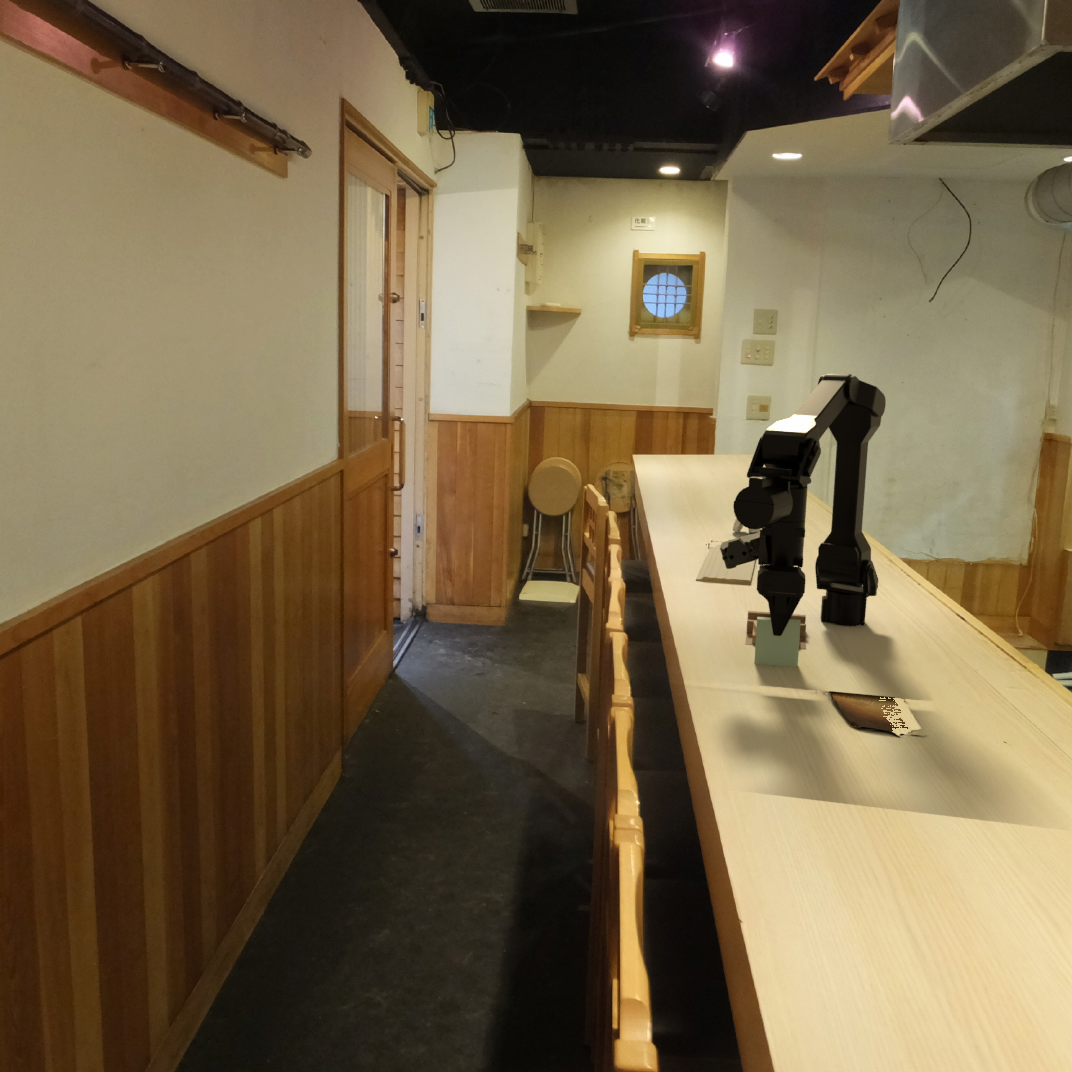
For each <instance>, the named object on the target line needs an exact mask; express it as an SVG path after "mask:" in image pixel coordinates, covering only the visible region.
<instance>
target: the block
mask: <svg viewBox="0 0 1072 1072" xmlns="http://www.w3.org/2000/svg"><path fill="white" fill-rule="evenodd" d="M800 623H801V622H800V620H793V619H790V620H789V622H788V624H787V626H786V628H785V629H784V631H783V633H782V635H781V636H774V635H773V631H772V624H771V618H767V617H757V628H756V645H754V647H755V649H754V664H755V665H756V664H758V665H769V666H780V667H781V666H782V667H792V668H798V667H799V666H798V663H799V652H800V649H799V638H800Z"/></svg>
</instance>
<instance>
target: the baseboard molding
mask: <svg viewBox="0 0 1072 1072" xmlns="http://www.w3.org/2000/svg"><path fill="white" fill-rule="evenodd" d="M710 541H711V543H713V542H718V541H714V540H710ZM711 543H710V542H709V543H706V544H705V546H708V547H707V548H708V549H709V550H708V552H707V554H706V556H705V558H704V560H703V563H702V565H701V567H700V569H699V572H698V574H697V577H696V578H695V581H696V582H711V583H723V584H724V583H725V584H737V585H751V582H752V577H753V572H754V567H755V564H756V560H755V561H752V562H748V563H744V564H741V565H737V566H736V567H735V568H731V569H727V568H726V566H725V563H724V560H723V559H722V553H721V550H720V546H721V544H717V545H715V546H710V545H711ZM707 544H708V545H707Z"/></svg>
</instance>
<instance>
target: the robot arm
mask: <svg viewBox="0 0 1072 1072" xmlns="http://www.w3.org/2000/svg"><path fill="white" fill-rule="evenodd" d="M885 409H886V396H885V394H884V393H883V392H882V391H881V390H880V389H879V387H877V386H876V385H872V384H871V383H869V382H865V381H862V380H860V378H858V377H857V376H855V375H852V374H850V373H826V374H823V375H822V374H821V375H820V377H819V379H818V382H817V386H816V387H815V388H814V389H813V390H812V392H810V394H809V395H808V396H807V398H806V399H805V400H804V401H803V402H802V404H801V405H800V406H799V407H798V409H797V410H796V411H795V412H794V413H793V415H792V416H790V417H788V418H784V419H782V420H777V421H776V422H774V423H773V424H772V425H770V426H769V427H768V428H767V429H766V430H764V433H763V434H762V435H761V436H760V437H759V440H758V442H757V446H756V448H755V451H754V453H753V456H752V459H751V461H750V465H749V467H748V469H747V472H746V478H747V479H748V486H746V487H745V488H742V489H741V490H739V492H738V493H737V494H736V497H735V499H734V501H733V513H734V516H735V519H736V518H737V520H738V521H739V522H740V523H741V524H742V525H743V527H745V528H747V529H748V528H749V529H760V532H759V533H755V534H750V535H749V534H747V535H743V536H740V537H737V538H733V539H728V540H725V541H722V542H721V543H720V545H721V546H720V550H721V553H722V559H723V560H724V563H725V566H726V568H727V569H731V568H735V567H736V566H737V565H741V564H744V563H748V562H752V561H755V562H756V560H757V564H758V565H759V567H758V568H759V570H757V578H756V580H757V581H756V591H757V593H758V594H759V596H760V595H761V597H763V598H764V599H765V600H766V601H767V603H768V610H769V611H768V612H770V617H771V624H772V631H773V635H774V636H781V635H782V633H783V631H784V629H785V628H786V626H787V624H788V622H789V620H790V618H791V616H792V614H794V612H795V610H796V609H797V606H798V605H799V603H800V601H801V599H802V598H803V596H804V594H805V592H806V591H805V590H806V573H805V572H803V570H802V568H803V567H804V544H805V543H804V542H805V537H806V517H807V516H806V515H807V513H806V512H807V499H808V485H809V484H811V483H812V478H811V477H812V475H813V471H814V470H815V467H816V466H817V463H818V461H819V458H820V457H821V454H822V448H821V445H820V439H821V438H822V437H823V435H824V434H825V433H826V431H827V430H828V429H829V431H830V433H831V434H832V436H833V438H834V439H835V442H836V452H835V465H834V466H835V467H834V485H833V497H832V498H833V499H832V512H831V513H832V514H831V528H830V529H831V530H830V533H829V534H828V535H827V537H826V538H825V540H824V541H823V542H821V543H820V544H819V546H818V548H817V551H818V553H817V554H818V555H817V557H816V561H815V570H814V571H815V579H816V580H815V581H816V589H817V590H824V591H825V595H823V596H822V595H821V596H822V597H821V605H820V622H822V623H826V624H833V625H836V626H842V627H857V626H863V627H864V626H865V624H866V612H867V602H868V601H867V600H868V599H867V598H869V597H876V596H877V591H878V587H879V577H878V574H877V571H876V568H875V564H874V562H873V561H872V547H871V546H870V543H869V542H868V540H867V538H866V537H865V535H864V533H863V518H864V517H863V516H864V507H865V505H864V504H865V494H866V493H865V491H866V478H867V463H868V450H869V448H868V447H869V441H871V439H872V438H873V436H874V435H875V433H876V432H877V430H878V429H879V428H880V426H881V424H882V423H881V422H882V417H883V415H884V414H885Z"/></svg>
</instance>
